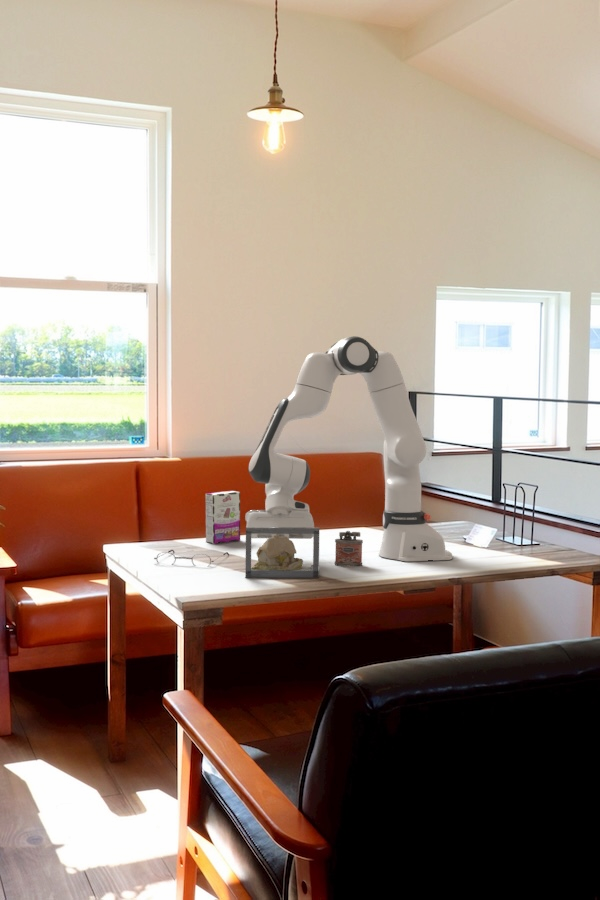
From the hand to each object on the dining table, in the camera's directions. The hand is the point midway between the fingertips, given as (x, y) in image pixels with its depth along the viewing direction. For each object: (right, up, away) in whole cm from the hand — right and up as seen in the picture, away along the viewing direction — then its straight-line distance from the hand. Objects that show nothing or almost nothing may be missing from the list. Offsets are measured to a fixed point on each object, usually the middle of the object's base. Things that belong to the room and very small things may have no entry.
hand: (280, 548), depth 270 cm
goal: (+1, -6, -11) cm, 13 cm away
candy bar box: (-20, -2, +38) cm, 43 cm away
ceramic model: (-1, -5, -5) cm, 7 cm away
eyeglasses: (-26, -5, +8) cm, 28 cm away
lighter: (+20, -5, +2) cm, 21 cm away
